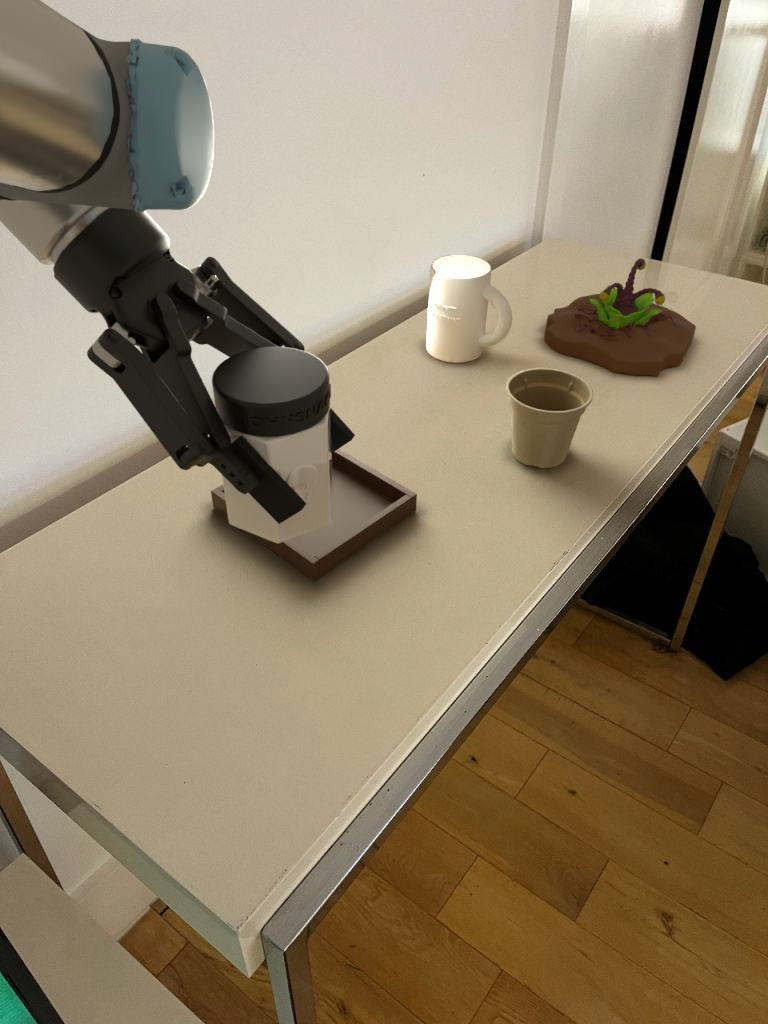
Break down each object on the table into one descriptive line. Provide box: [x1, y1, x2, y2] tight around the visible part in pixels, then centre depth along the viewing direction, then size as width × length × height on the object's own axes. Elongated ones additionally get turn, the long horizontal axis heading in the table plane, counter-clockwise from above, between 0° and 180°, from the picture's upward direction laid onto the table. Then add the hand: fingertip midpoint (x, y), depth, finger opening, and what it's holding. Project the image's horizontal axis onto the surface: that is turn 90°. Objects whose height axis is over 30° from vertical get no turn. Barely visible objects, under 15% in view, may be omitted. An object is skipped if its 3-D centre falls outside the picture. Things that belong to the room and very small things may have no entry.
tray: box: [210, 448, 418, 582], centre depth 81 cm, size 15×16×2 cm
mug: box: [425, 254, 513, 364], centre depth 104 cm, size 8×12×12 cm
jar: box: [211, 346, 332, 543], centre depth 58 cm, size 9×8×12 cm
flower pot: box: [505, 367, 594, 469], centre depth 87 cm, size 9×9×9 cm
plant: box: [543, 258, 697, 377], centre depth 109 cm, size 20×20×11 cm
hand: (318, 477), depth 58 cm, fingers closed on jar, 8 cm apart
